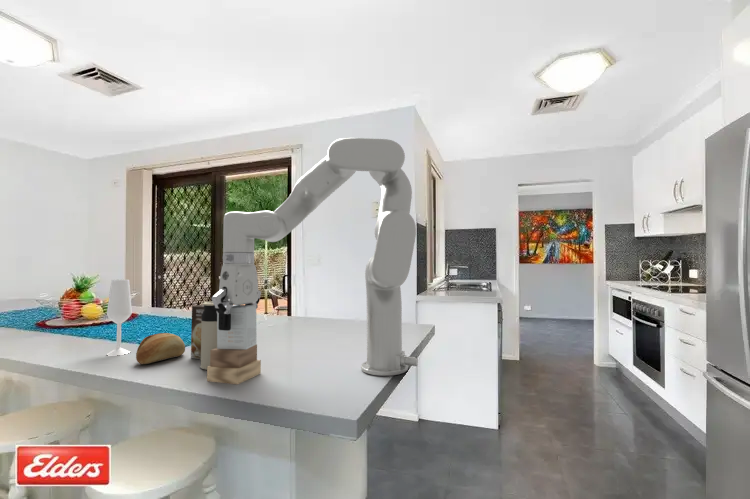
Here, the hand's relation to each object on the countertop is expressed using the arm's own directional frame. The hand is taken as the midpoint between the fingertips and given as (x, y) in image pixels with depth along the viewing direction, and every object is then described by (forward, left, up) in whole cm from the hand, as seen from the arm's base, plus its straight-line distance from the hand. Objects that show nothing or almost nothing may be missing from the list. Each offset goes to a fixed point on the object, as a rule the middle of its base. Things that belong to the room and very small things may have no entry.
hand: (238, 326), depth 91 cm
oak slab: (+1, 0, -13) cm, 13 cm away
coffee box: (+22, -14, -13) cm, 29 cm away
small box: (0, 0, -5) cm, 5 cm away
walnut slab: (+1, 0, -9) cm, 9 cm away
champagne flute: (+54, -9, -13) cm, 56 cm away
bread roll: (+34, -7, -13) cm, 37 cm away
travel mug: (+12, -6, -13) cm, 19 cm away
